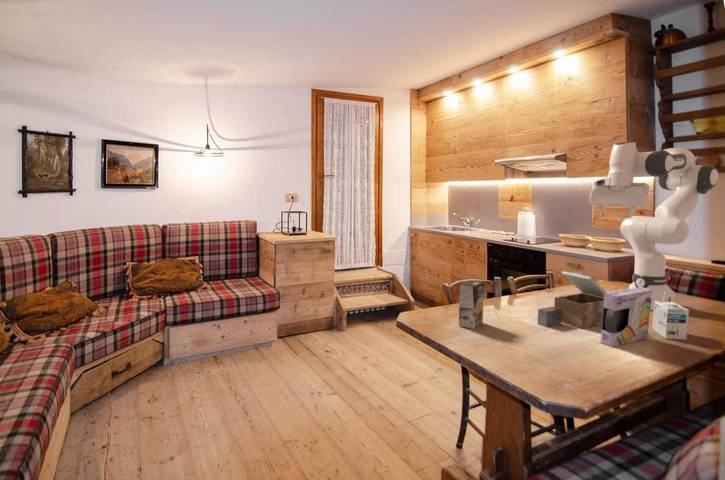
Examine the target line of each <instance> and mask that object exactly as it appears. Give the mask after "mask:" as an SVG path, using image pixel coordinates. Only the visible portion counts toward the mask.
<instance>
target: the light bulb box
mask: <svg viewBox="0 0 725 480" xmlns="http://www.w3.org/2000/svg"><path fill="white" fill-rule="evenodd" d="M689 313H690V309H688V308H686V307H684V306H682V305H681V306H680V305H678V304H676V303H674V302H661V301H654V310H653V314H652V325H651V326H652V330H653V331H654V332H656V334H658V335H660V336H661V337H662V338H664V339H665V340H666V339H667V340H683V341H686V340H687V338H688V336H687V335H688V324H689Z"/></svg>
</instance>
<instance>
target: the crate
mask: <svg viewBox="0 0 725 480" xmlns="http://www.w3.org/2000/svg"><path fill="white" fill-rule="evenodd" d="M553 305H554V306H553V307H557V308H560V309H562V316H561V324H562V323H563V324H566V325H569V326H572V327H575V328H578V329H586V328H590V327H596V326H599V325H602V319H603V306H604V298H603V297H598V296H594V295H590V294H586V293H582V292H580V293H579V292H578V293H574V294H573V293H572V294H568V295H562V296H555V297H554V304H553Z"/></svg>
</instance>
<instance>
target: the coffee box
mask: <svg viewBox="0 0 725 480" xmlns="http://www.w3.org/2000/svg"><path fill="white" fill-rule="evenodd" d="M484 293H485V281H478V280H467V281H465V282H462V283H459V305H458V309H459V310H458V326H459V327H463V328H468V329H473V330H474V329H476V328H478V327H479V326H480V325H481V324H483V321H484V320H483V319H484V300H485V299H484V298H485V295H484Z"/></svg>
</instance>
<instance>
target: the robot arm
mask: <svg viewBox="0 0 725 480" xmlns="http://www.w3.org/2000/svg"><path fill="white" fill-rule="evenodd" d="M694 163H695V155H694V153H693V152H692V151H691V150H689V149H686V148H679V147H669V148H665V149H662V150H656V151H645V152H643V151H642V152H639V151H638V150H637V143H636V142H635V141H622V142H621V141H620V142H617V143H614V144H613V146H612V149H611V152H610V156H609V163H608V166H609V171H608V173H607V177H604V178H600V179H597V180H595V181H594V182H593V186H594V187H592V189H591V191H590V194H589V198H588V203H589V204H590V205H591V206H592V205H593V206H597V209H598V211H599V217H601V218H605V217H606V214H607V213H606V212H605V211H604V210H603V209H604V206H605V207H607V206H608V207H609V206H610V207H629V208H630V211H629V212H628V213H626V214H625V219H624V220H623V221H622V222H621V224H620V228H619V229H620V233H621V235H622V237H623V238H624V239H626V241H627V243H629V245H630V246H631V248H632V252H633V255H634V270H633V273H632V276H631V277H632V282H631V283H630V284H629V286H628V289H632V288H638V287H643V288H647V289H650V290H652V298H651V307H650V311H654V301H661V302H674V303H676V304H678V305H680V306H682V304H681V303H680V302H676V301H675V299H676V292H675V291H673V290H672V288H670V287H669V285H667V284H668V281H670V280H671V276H670V275H666V266H667V265H666V264H667V259H666V256H664V254H663V253H661V252H659V251H658V250H657V249H656V246H655V245H654V244H659V245H679V244H680V245H681V244H683V243H684V242H685V241H686V240H687V239H688V237H689V234H690V228H689V225H688V224H687V222H686V221H685V220H686V219H687V218H688V217H689V216H690V215H691V214H692V212H693V211H694V210H695V209H696V207H697V206H698V203H699V195H700V194H701V195H705V194H707V193H708V192H709V191H710V190H712V189H713V188H714V187H716V185H717V184H718V182H719V178H720V175H719V174H720V173H719V170H718V169H717V168H716V166H713V165H708V164H703V165H701V164H700V165H697V164H696V165H694ZM645 177H646V178H647V177H648V178H650V177H654V178H655V177H656V178H658V180H657V181H658V185H659V186H660V188H662V189H663V190H666V191H674V193H673V194H671V195H669V196H668V197H667V198H666V199H665V200H663V202H661V203H660V204H659V205H658V206H657V207H656V208H655V211H654V216H642V215H641V216H640V215H637V216H632V215H633V214H634V213H635V212H636V210H637V208H645V207H647V205H648V194H649V193H650V185H649V184H647V183H646V182H634V178H645Z"/></svg>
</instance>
